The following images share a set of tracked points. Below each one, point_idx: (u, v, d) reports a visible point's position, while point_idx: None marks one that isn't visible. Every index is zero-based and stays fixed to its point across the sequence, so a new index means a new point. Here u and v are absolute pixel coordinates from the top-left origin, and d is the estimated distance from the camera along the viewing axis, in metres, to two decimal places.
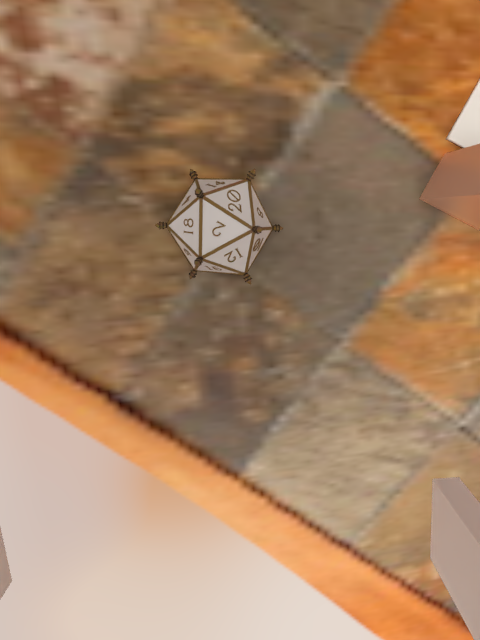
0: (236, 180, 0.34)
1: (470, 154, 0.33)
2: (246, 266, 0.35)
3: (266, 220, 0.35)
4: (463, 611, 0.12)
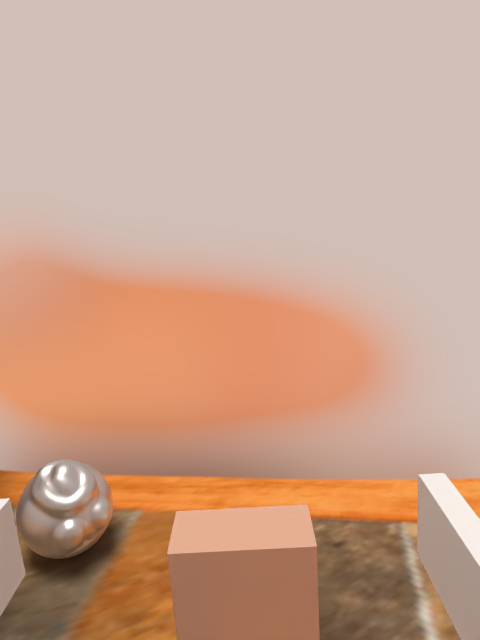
0: None
1: None
2: None
3: None
4: (446, 604, 0.12)
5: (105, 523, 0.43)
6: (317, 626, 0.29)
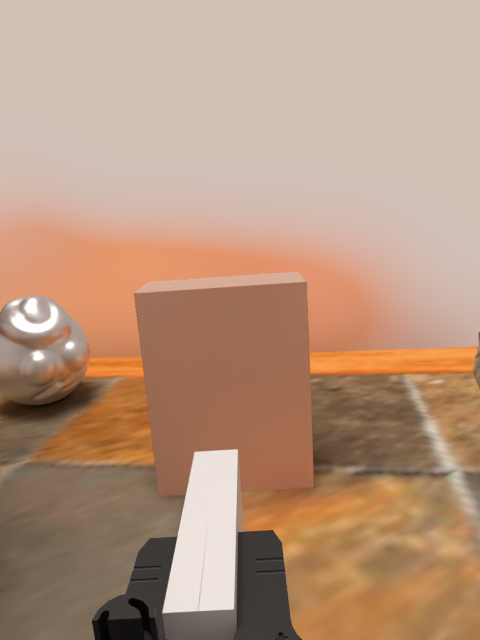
0: None
1: None
2: None
3: None
4: None
5: (79, 363, 0.39)
6: (308, 388, 0.25)
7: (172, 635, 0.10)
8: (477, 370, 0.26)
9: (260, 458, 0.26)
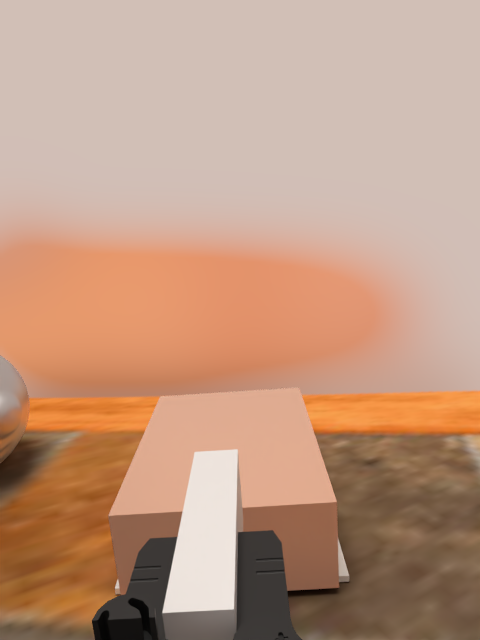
0: None
1: None
2: None
3: None
4: None
5: (7, 427, 0.27)
6: (310, 429, 0.24)
7: (172, 635, 0.10)
8: None
9: (258, 476, 0.20)
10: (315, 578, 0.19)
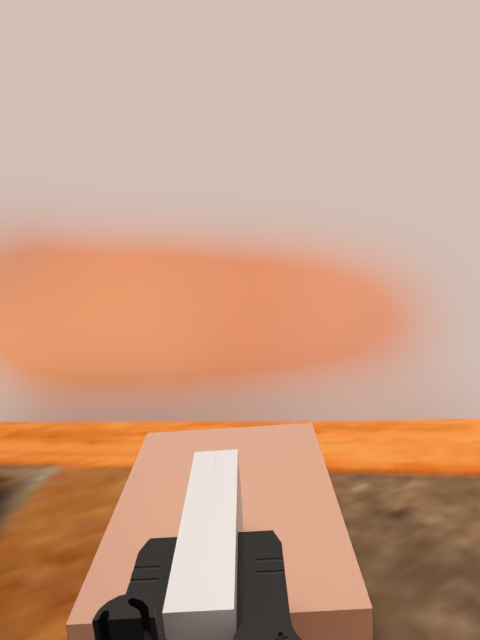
0: None
1: None
2: None
3: None
4: None
5: None
6: (329, 486, 0.19)
7: (172, 635, 0.10)
8: None
9: None
10: None
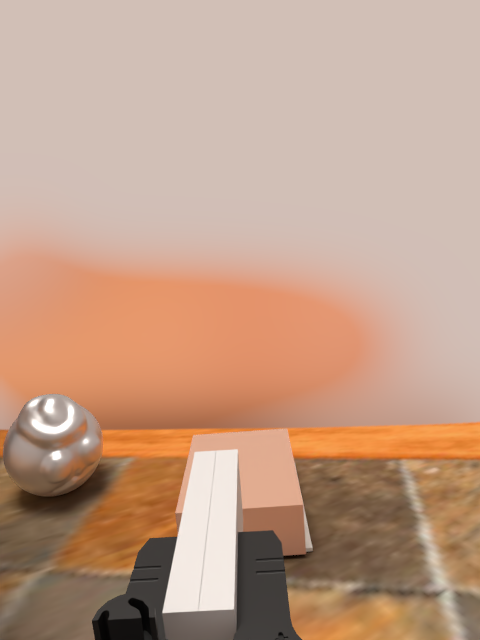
0: None
1: None
2: None
3: None
4: None
5: (94, 458, 0.42)
6: (292, 460, 0.38)
7: (172, 635, 0.10)
8: None
9: (259, 490, 0.34)
10: (292, 548, 0.33)
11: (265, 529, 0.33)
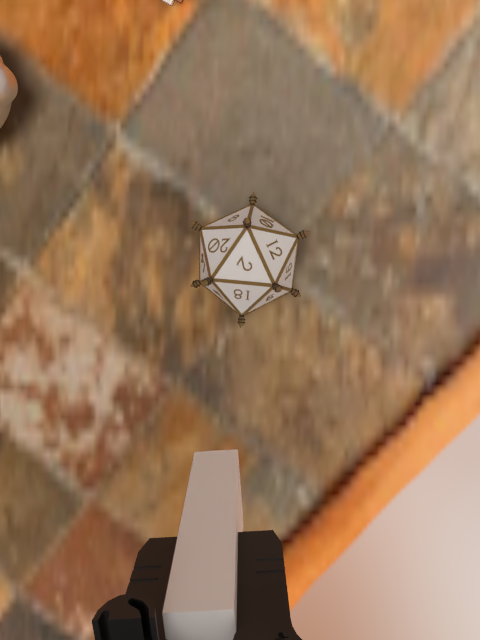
0: (200, 241, 0.33)
1: None
2: (288, 235, 0.32)
3: (242, 211, 0.33)
4: None
5: None
6: None
7: (172, 635, 0.10)
8: None
9: None
10: None
11: None
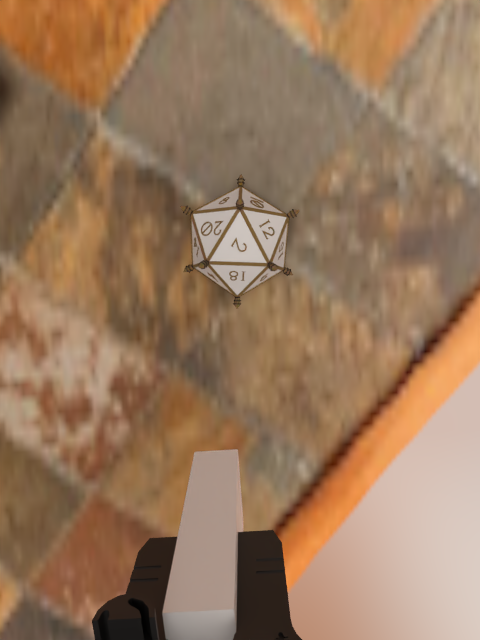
0: (192, 225, 0.33)
1: None
2: (279, 215, 0.33)
3: (232, 193, 0.33)
4: None
5: None
6: None
7: (172, 635, 0.10)
8: None
9: None
10: None
11: None
